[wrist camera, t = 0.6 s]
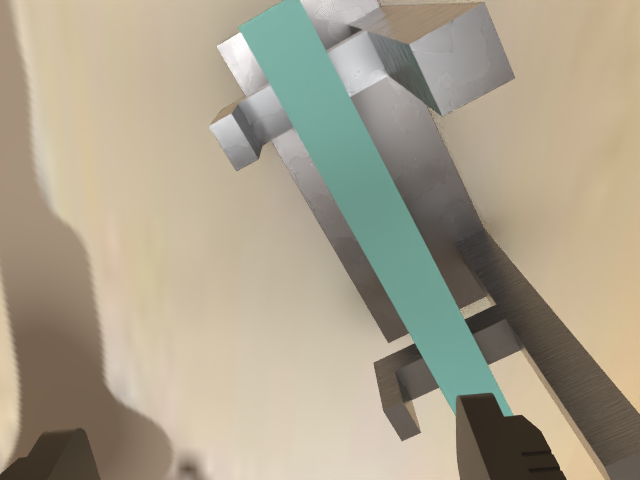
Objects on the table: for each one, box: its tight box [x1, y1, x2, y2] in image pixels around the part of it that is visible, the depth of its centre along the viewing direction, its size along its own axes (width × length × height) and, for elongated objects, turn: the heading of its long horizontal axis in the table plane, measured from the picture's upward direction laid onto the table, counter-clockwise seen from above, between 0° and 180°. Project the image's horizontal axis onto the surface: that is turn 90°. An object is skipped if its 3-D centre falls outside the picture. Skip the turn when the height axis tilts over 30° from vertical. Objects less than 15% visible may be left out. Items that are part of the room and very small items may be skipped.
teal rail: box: [238, 0, 514, 417], centre depth 26 cm, size 2×22×2 cm, turn 28°
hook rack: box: [209, 0, 640, 480], centre depth 28 cm, size 9×22×22 cm, turn 29°
